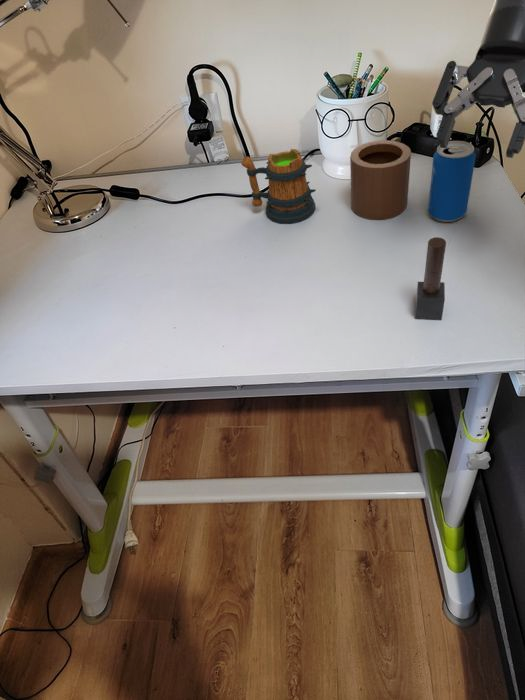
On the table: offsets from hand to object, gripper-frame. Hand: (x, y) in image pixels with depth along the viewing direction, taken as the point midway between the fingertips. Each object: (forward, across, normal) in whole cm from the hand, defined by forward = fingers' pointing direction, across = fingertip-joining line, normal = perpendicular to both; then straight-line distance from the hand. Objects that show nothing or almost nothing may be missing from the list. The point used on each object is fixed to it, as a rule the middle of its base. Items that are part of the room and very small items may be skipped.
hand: (475, 150), depth 66 cm
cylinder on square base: (+21, 0, +5) cm, 22 cm away
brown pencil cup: (+5, -18, +23) cm, 30 cm away
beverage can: (+4, -6, +23) cm, 25 cm away
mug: (+11, -34, +17) cm, 40 cm away
